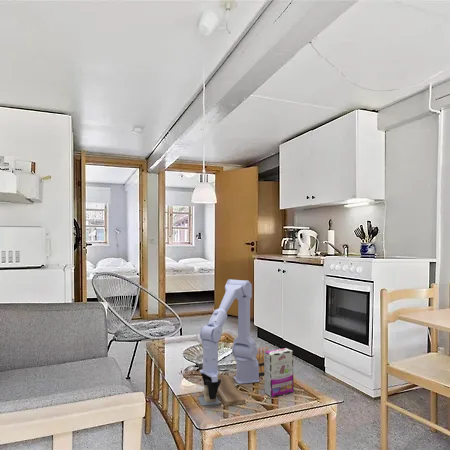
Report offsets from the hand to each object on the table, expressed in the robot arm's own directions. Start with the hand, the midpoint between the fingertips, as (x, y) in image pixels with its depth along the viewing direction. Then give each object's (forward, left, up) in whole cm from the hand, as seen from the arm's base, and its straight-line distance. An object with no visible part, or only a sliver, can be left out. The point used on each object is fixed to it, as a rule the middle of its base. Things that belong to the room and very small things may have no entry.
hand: (210, 394), depth 135 cm
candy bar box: (-28, 0, -2) cm, 28 cm away
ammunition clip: (-28, -20, -2) cm, 35 cm away
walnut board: (-8, -7, -2) cm, 11 cm away
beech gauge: (0, 0, -2) cm, 2 cm away
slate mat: (0, 0, -2) cm, 2 cm away
